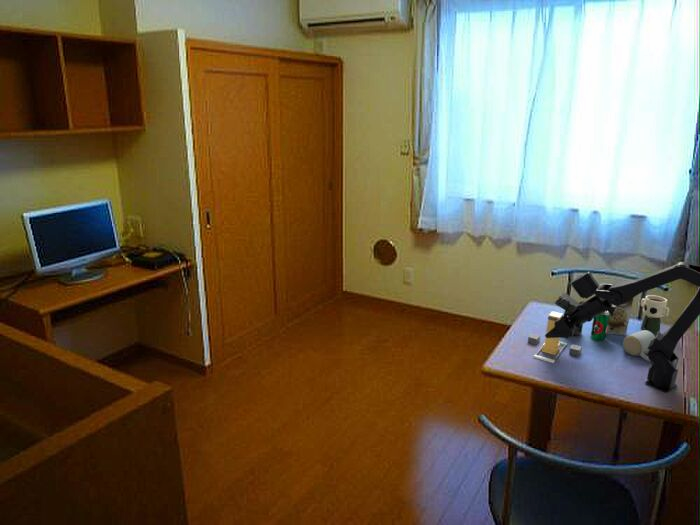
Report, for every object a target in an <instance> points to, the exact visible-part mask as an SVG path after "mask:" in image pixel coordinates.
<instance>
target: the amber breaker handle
mask: <svg viewBox="0 0 700 525" xmlns="http://www.w3.org/2000/svg"><path fill="white" fill-rule="evenodd" d="M563 315H564V313H562V312H557V311H553V310H552V311H551V312H550V313H549V314H548V317H547V325H546V332H545V335H546V334H547V333H548V332H549V331H550V330H551V329H552V328H554V327H555V324H554V323H555V321H556V320H557V319H559V318H560V317H562V316H563ZM544 339H545V340H544V343H543V344H542V345H543V348H542V350H541V352H543V353H545V354H549V355H553V356H556V355H557V354H558V352H559V351H560V349H561V348H560V347H561V345H560V343H559V341H560V338H546V337H545V338H544Z"/></svg>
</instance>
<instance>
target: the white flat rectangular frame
mask: <svg viewBox="0 0 700 525" xmlns="http://www.w3.org/2000/svg"><path fill="white" fill-rule="evenodd" d="M540 340H541V335H539V334H536V333H530V335H529V336H528V338H527V343H529V344H533V345H538V343H540ZM559 343H560V346H561V345H562V347H561V348H560V349H559V351H558V353H557V354H556V355H554V358H553V359H551V358H549V357H545V356H541V355H539V353H541V352H542V348H543V344H542V345H541V347H539V348H538V350H536V352H535V354H533V358H534V359H537V360H541V361H545V362H549V363H551V364H554V363H555V362H557V360H558V358H559V356H561V354H562V353H563V351H564V350H565V348H566V347H567V345H568V343H567V342H565V341H560V340H559ZM582 349H583V346H581V345H577V344H571V346H570V347H569V353H568V354H569V355H572V356H577V357H579V356H580V354H581V353H582Z"/></svg>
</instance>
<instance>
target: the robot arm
mask: <svg viewBox="0 0 700 525" xmlns="http://www.w3.org/2000/svg"><path fill="white" fill-rule="evenodd" d="M677 280H683V281H686V282H688V283H690V284H692V285H694V286H696V287H698V289H697V290H696V292H695V295H693V297H692V298H691V299H690V301H689V302H688V303H687V305H686V306H685V308H684V309H682V311H681V313H680V314H679V315H678V317H676V319H675V321H674V322H673V323H672V324H671V325H670V326H669V328H668V329H667V330H666V331H665V332H664V333H661V331H660V332H658V333H656V335H655V338H654V339H653V340H651V342H650V344H649V346H648V349H649V351H648V354H647V357H648V358H649V359H650V361H651V362H650V363H652V364H651V366H650V367H649V368H648V373H647V377H646V381H644V383H645V385H648V386H650V387H651V388H655V389H657V390H659V391H661V392H663V393H666V394H667V393H669V392H671V391H672V390H674V389H676V388H677V387H678V385H677V384H676V382H677V377H678V374H679V369H678V368H677V367H678V364H679V360H680V358H679V357H678V355H677V354H676V353H675V349H676V347H677V345H678V342H679V341H680V340H681V339H682V337H684V335H685V334H686V332H687V331H688V330H689V329H690V327H691V326H692V324H694V322H695V321H696V320H697V319H698V317H699V316H700V265H697V264H692V263H690V262H689V263H688V262H685V261H679V262H677V263H676V264H674V265H673V264H672V265H671V266H668V267H665V268H663V269H660V270H658V271H655V272H653V273H650V274H648V275H645V276H641V277H640V278H637V279H631V280H623V281H617V282H615V283H613V284H610V283H600V284H599V282H597V280H596V278H594V276H593V274H592V273H591V272H590V271H588V272H586V273H584V274H581V275H579V276H577V277H576V278H574V279H573V280H572V281H571V282H569V284H570V286H571V287H572V288H573V289H574V291H575V292H576V293H577V295H578V296H579V298H582V299H585V300H584V301H583V300H581V301H579V302H578V301H577V300H576V299H575V298H573V297H572V296H570V295H569V294H567V293H565V292H561V294H559V297H558V298H557V299H556V301H554V304H555V305H556V306H557V307H559V308H561V309H562V310H564V312H565V314H564V313H563V315H564V316H562V317H560V318H559V319H557V320H556V321H555V323H554V324H555V327H554V328H552V329H551V330H550V331H549V332H548V333H547V334H546V333H545V335H544V337H545V338H559V339H560V338H562V339H566V340H568V339H570V338H571V337H574V336H573V334H574V333H575V328H574V325H576V327H577V328H579V327H580V326H581V325H582V324H583V325H584V324H586V323H590V322H591V321H592V322H593V318H595V317H597V316H598V315H600V314H602V313H604V312H606V311H608V312H609V313H610V315H611V316H613V315H614V313H615V310H616V307H617V306H619V305H622V304H624V303H625V302H627V301H629V300H631V299H632V298H633V299H634V298H635V297H637V296H638V295H640V294H642V293H645V292H648V291H650V290H653V289H655V288H658V287H661V286H664V285H666V284H670V283H673V282H675V281H677ZM593 295H594V296H593Z"/></svg>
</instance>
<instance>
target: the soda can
mask: <svg viewBox="0 0 700 525" xmlns="http://www.w3.org/2000/svg"><path fill="white" fill-rule="evenodd" d="M609 320H610V313H609V312H608V311H606V312H604V313H602V314H600V315H598V316H597V317H595V318H593V319H592V325H591V332H590V338H591V339H592V340H595V341H597V342H604V341H607V335H608V334H607V331H608V325H609Z"/></svg>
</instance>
